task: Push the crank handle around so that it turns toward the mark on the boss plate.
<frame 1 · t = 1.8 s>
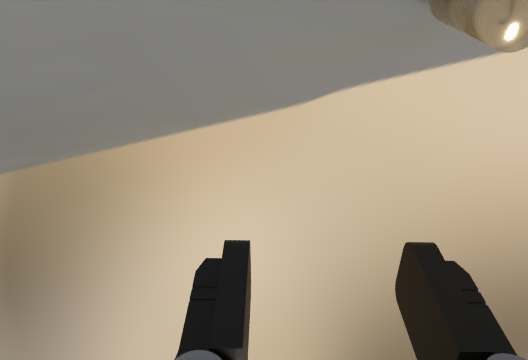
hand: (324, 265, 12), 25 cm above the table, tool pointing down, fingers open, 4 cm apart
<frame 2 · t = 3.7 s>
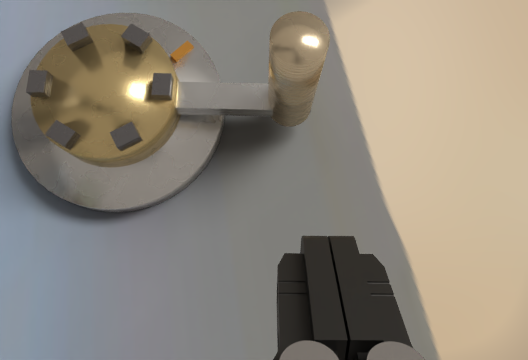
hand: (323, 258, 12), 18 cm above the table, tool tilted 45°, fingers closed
boss plate: (124, 112, 33), on the table
crank handle: (166, 75, 26), point 6 cm above the table, hinge at 0.0°
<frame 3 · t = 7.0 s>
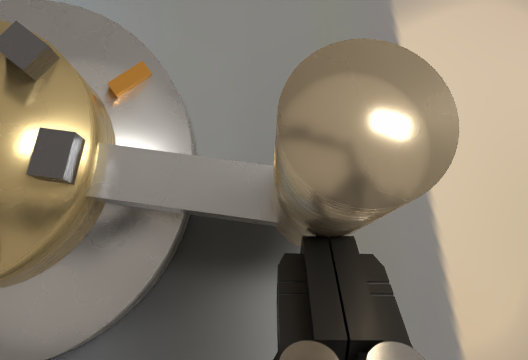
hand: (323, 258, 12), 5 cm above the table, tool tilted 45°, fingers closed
boss plate: (19, 175, 18), on the table
crank handle: (50, 143, 12), point 6 cm above the table, hinge at 0.3°, touching gripper
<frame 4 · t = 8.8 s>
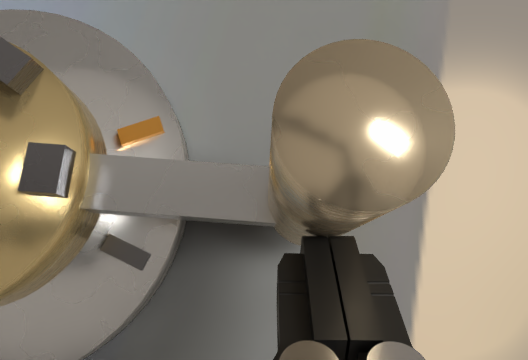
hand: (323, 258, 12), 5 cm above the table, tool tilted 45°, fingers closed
boss plate: (10, 190, 18), on the table
crank handle: (40, 158, 12), point 6 cm above the table, hinge at 21.1°, touching gripper
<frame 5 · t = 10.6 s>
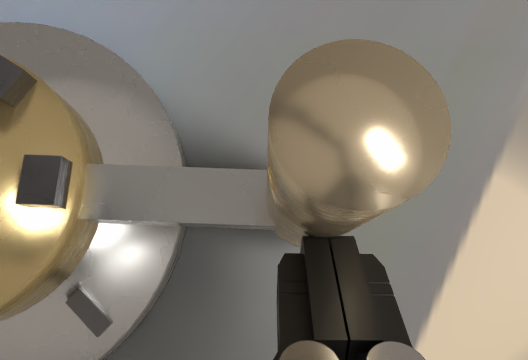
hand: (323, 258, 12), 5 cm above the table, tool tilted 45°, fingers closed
boss plate: (7, 203, 18), on the table
crank handle: (37, 170, 12), point 6 cm above the table, hinge at 41.1°, touching gripper
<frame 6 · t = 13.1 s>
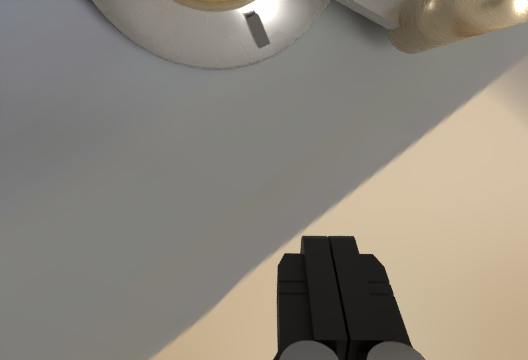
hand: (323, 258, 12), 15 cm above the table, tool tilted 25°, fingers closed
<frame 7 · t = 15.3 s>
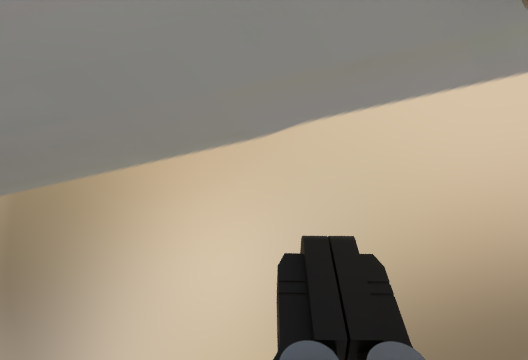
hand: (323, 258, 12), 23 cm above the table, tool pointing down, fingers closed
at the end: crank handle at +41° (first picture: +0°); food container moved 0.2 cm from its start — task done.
